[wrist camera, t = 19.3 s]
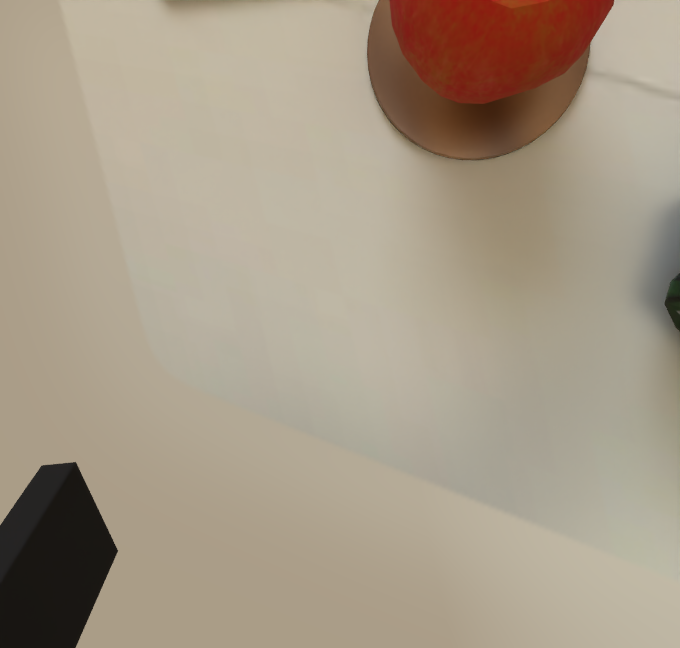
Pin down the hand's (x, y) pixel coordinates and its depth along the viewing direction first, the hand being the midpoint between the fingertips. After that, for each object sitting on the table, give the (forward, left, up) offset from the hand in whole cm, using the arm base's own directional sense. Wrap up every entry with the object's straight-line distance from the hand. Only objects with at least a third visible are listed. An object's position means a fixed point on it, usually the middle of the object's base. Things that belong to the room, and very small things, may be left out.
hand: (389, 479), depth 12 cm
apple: (+10, +12, -19) cm, 25 cm away
